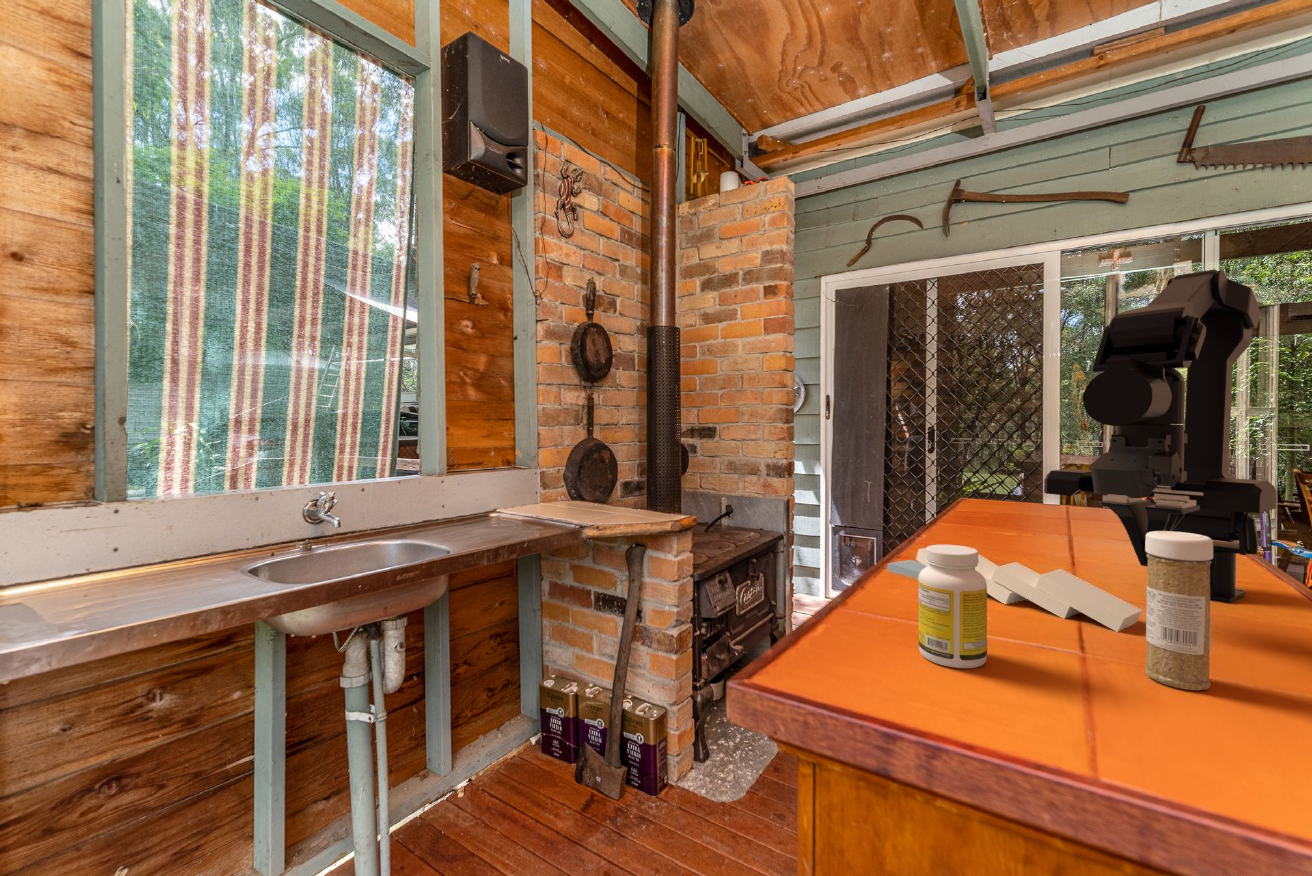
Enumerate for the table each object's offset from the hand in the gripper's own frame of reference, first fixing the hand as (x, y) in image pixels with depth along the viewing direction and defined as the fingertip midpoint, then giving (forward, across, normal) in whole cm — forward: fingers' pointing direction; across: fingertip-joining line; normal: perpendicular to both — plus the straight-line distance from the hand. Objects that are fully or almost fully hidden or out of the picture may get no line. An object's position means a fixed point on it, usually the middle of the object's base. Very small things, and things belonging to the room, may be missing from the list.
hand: (1147, 565), depth 64 cm
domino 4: (+7, -7, 0) cm, 10 cm away
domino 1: (+7, -23, 0) cm, 24 cm away
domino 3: (+7, -13, 0) cm, 15 cm away
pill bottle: (+8, -8, -24) cm, 26 cm away
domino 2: (+7, -19, 0) cm, 20 cm away
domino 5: (+7, -2, 0) cm, 7 cm away
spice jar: (+8, +6, -12) cm, 16 cm away
